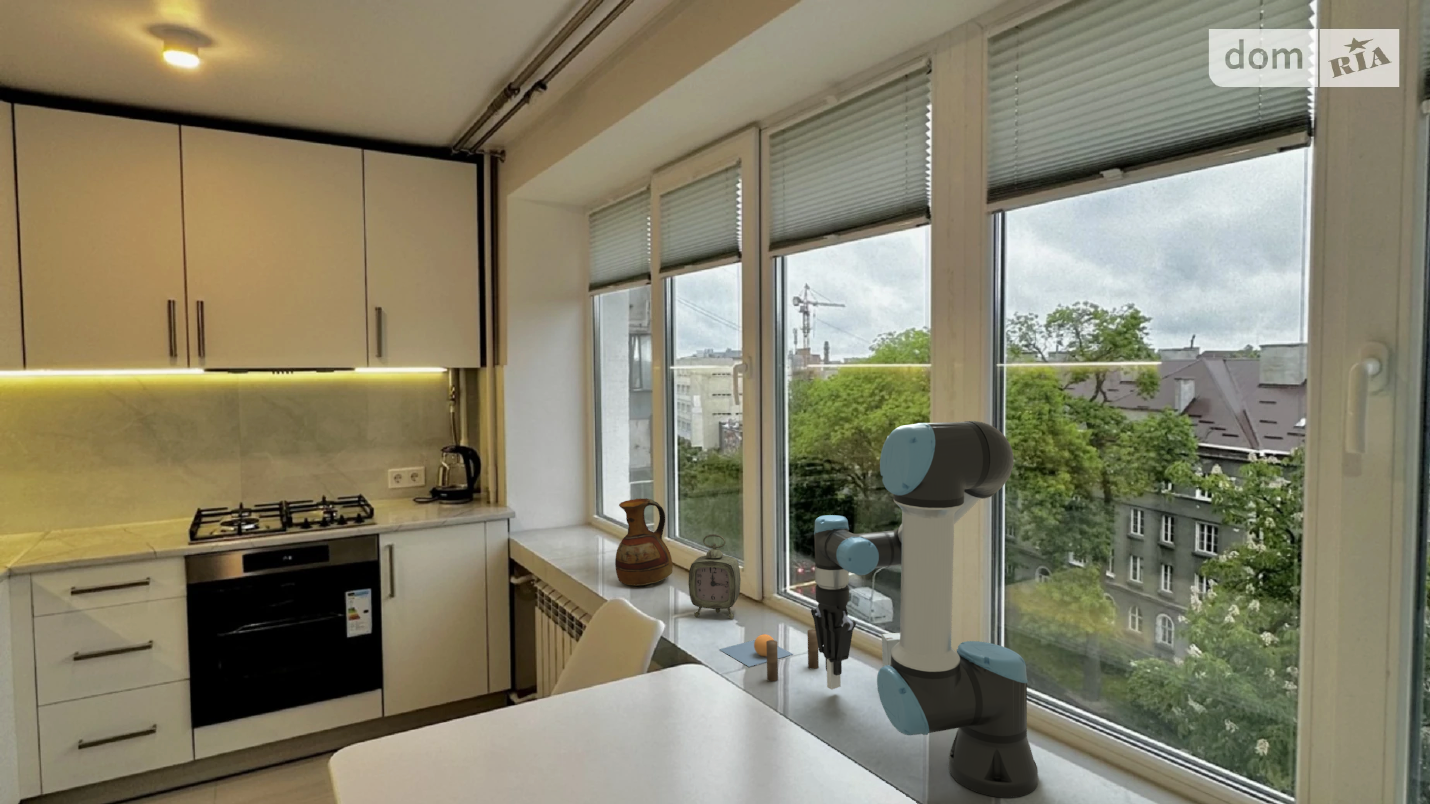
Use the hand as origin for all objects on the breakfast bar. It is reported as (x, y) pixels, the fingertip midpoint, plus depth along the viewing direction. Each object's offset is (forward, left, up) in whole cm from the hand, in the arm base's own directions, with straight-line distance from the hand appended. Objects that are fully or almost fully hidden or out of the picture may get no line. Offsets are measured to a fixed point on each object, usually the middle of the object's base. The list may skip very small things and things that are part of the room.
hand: (833, 686), depth 167 cm
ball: (+28, -1, +1) cm, 28 cm away
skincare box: (-5, -15, -2) cm, 16 cm away
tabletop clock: (+62, -7, -2) cm, 62 cm away
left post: (+15, +6, -2) cm, 16 cm away
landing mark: (+31, 0, -2) cm, 31 cm away
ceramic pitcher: (+107, -5, -2) cm, 107 cm away
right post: (+15, -6, -2) cm, 16 cm away
